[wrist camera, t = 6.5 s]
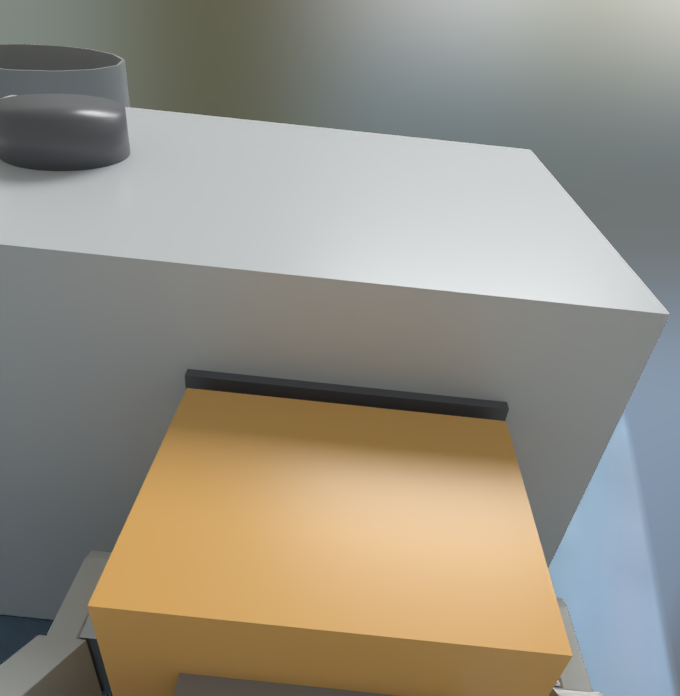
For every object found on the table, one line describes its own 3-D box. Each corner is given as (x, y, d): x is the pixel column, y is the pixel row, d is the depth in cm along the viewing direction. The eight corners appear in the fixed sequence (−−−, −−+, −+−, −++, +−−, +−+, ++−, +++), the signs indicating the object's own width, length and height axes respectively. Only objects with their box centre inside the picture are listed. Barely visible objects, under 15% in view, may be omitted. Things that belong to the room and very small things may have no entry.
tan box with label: (433, 923, 11) (586, 703, 6) (150, 895, 11) (67, 650, 6) (418, 681, 15) (506, 420, 10) (208, 660, 15) (187, 387, 10)
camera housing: (502, 673, 15) (704, 263, 8) (-196, 601, 15) (-556, 131, 8) (457, 419, 24) (539, 115, 17) (11, 373, 23) (-85, 49, 17)
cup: (84, 281, 30) (46, 78, 25) (-42, 250, 32) (-104, 53, 26) (168, 227, 37) (154, 58, 32) (61, 204, 39) (30, 40, 33)
